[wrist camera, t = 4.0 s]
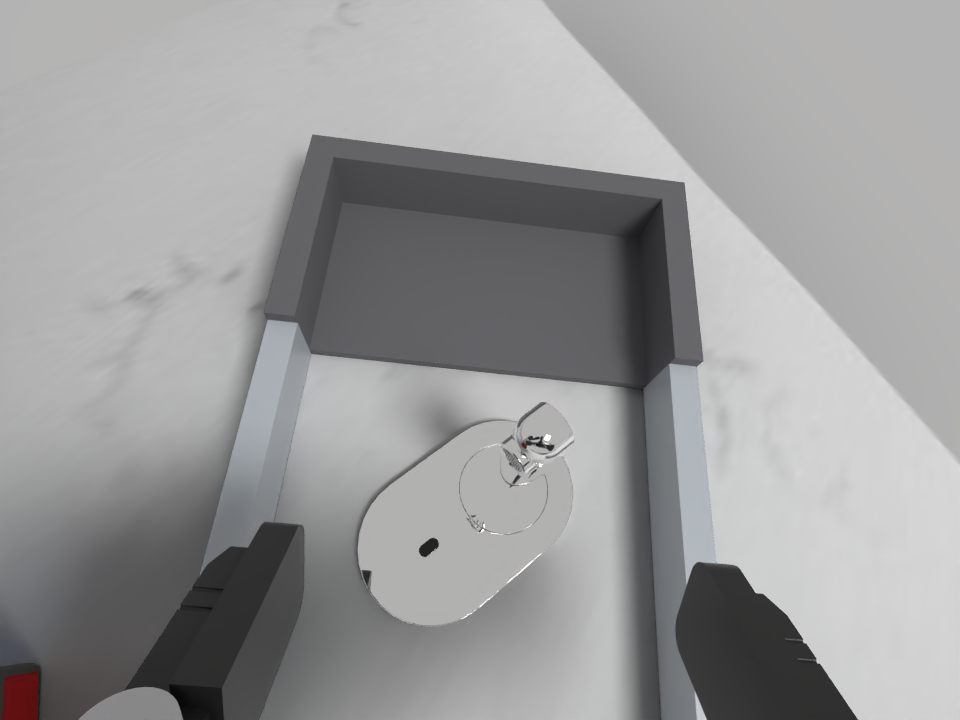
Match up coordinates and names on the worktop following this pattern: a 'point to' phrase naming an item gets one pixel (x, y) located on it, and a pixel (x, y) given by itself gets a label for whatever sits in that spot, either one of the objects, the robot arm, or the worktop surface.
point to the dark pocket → (487, 265)
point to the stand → (468, 518)
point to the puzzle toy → (19, 692)
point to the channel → (671, 481)
